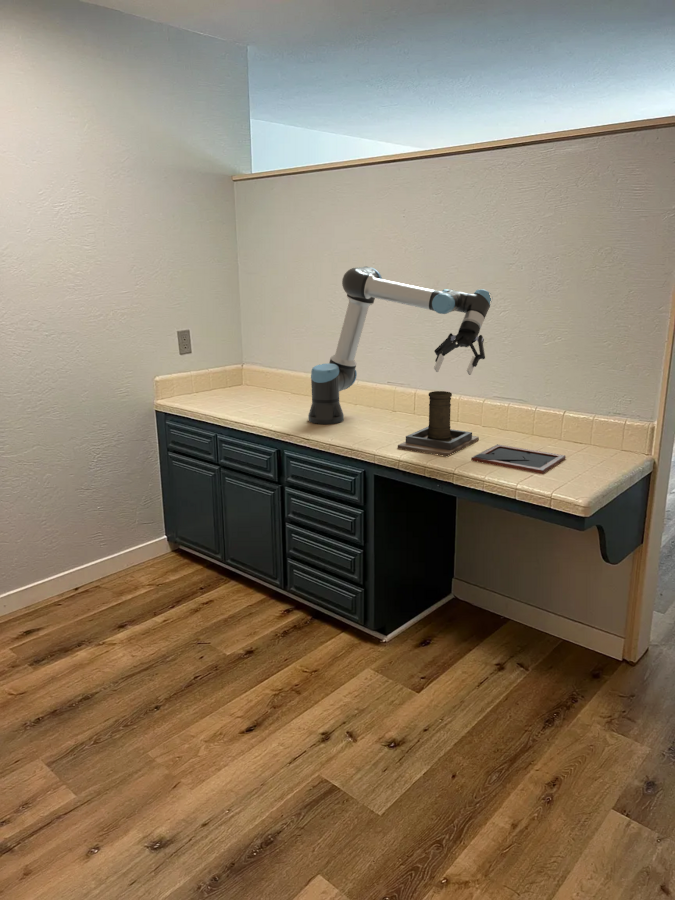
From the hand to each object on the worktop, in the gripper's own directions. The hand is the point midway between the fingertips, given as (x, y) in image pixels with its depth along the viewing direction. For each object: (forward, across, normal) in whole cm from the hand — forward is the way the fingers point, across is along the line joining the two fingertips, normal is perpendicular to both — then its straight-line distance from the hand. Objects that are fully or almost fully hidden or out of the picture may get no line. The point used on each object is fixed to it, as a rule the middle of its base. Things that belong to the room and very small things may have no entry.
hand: (452, 371), depth 251 cm
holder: (+26, -1, -10) cm, 28 cm away
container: (+25, -1, -9) cm, 27 cm away
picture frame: (+28, -33, -9) cm, 44 cm away
